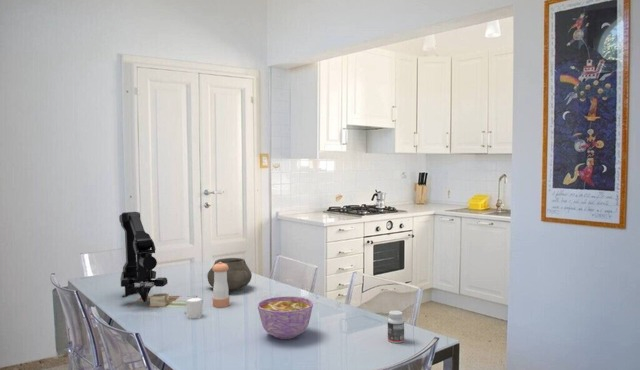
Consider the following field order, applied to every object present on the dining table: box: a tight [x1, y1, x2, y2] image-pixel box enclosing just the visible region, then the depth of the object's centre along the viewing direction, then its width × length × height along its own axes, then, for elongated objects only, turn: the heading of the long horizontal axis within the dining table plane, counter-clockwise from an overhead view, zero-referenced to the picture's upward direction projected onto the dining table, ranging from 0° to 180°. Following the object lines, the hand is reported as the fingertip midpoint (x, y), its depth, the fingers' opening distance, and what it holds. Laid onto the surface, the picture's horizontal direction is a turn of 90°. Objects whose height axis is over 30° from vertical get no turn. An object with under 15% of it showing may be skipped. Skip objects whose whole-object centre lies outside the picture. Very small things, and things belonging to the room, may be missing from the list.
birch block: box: [149, 292, 170, 306], centre depth 222 cm, size 6×6×4 cm
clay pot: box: [206, 257, 253, 292], centre depth 250 cm, size 22×21×15 cm
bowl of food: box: [257, 295, 314, 340], centre depth 185 cm, size 20×20×12 cm
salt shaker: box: [211, 262, 231, 308], centre depth 224 cm, size 7×7×19 cm
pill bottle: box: [387, 310, 405, 344], centre depth 178 cm, size 6×6×10 cm
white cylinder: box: [185, 297, 204, 320], centre depth 209 cm, size 7×7×7 cm
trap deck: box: [127, 295, 198, 308], centre depth 227 cm, size 18×26×2 cm
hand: (144, 301), depth 223 cm, fingers closed
